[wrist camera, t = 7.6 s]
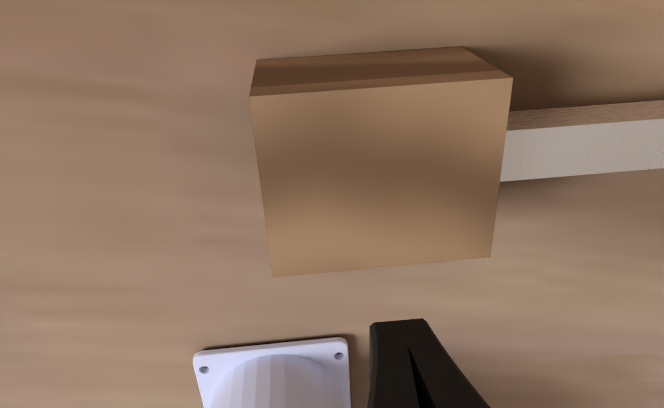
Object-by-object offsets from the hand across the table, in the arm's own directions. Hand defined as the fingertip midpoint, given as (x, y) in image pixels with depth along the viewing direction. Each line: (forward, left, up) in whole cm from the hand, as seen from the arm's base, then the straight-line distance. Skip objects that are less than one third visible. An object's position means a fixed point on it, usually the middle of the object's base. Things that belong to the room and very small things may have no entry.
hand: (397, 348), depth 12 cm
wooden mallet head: (+2, -1, -10) cm, 11 cm away
